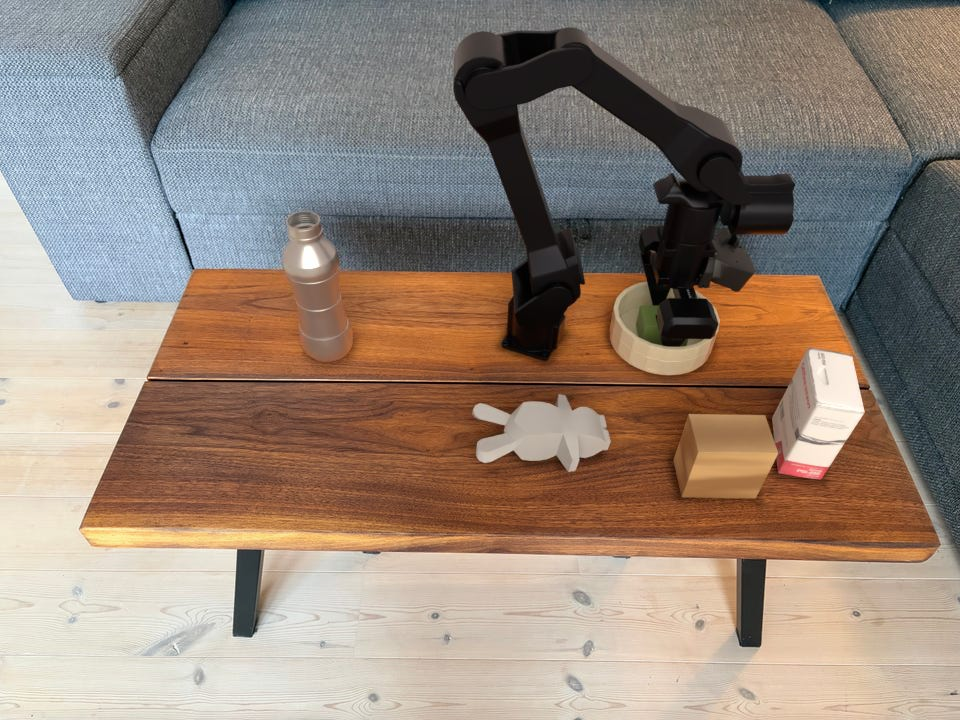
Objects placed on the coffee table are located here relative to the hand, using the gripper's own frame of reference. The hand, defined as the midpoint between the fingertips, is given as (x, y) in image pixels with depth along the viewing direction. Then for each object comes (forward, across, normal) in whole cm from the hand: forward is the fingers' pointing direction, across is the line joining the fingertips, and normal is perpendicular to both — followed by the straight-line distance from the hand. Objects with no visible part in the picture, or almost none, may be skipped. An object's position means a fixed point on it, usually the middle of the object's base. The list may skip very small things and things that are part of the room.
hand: (662, 330), depth 93 cm
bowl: (+2, 0, 0) cm, 2 cm away
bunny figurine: (+2, -18, +17) cm, 25 cm away
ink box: (+2, -18, -13) cm, 22 cm away
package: (+1, 0, 0) cm, 1 cm away
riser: (+2, -22, -2) cm, 22 cm away
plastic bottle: (+2, -3, +43) cm, 43 cm away
